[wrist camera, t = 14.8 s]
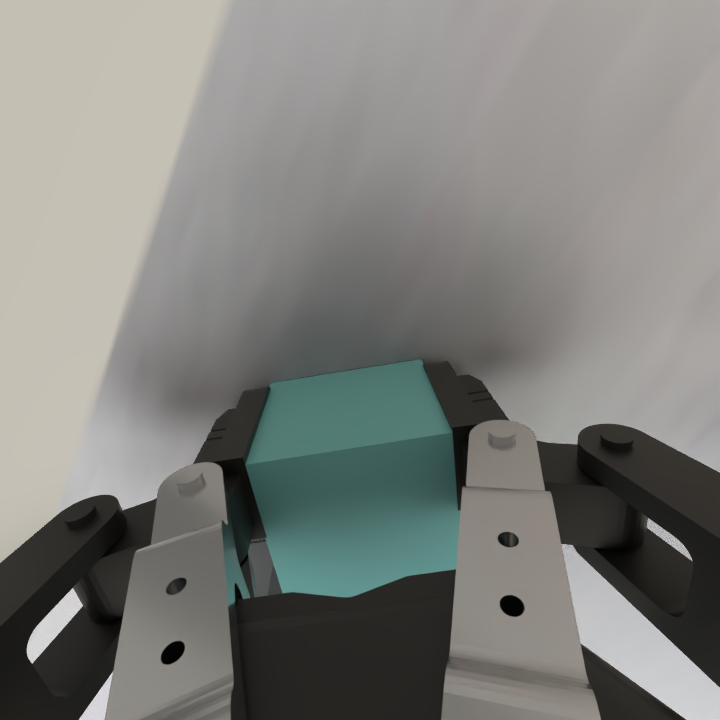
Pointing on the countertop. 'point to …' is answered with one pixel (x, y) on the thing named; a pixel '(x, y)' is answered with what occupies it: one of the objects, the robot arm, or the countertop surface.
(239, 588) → the robot arm
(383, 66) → the countertop surface
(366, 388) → the block
